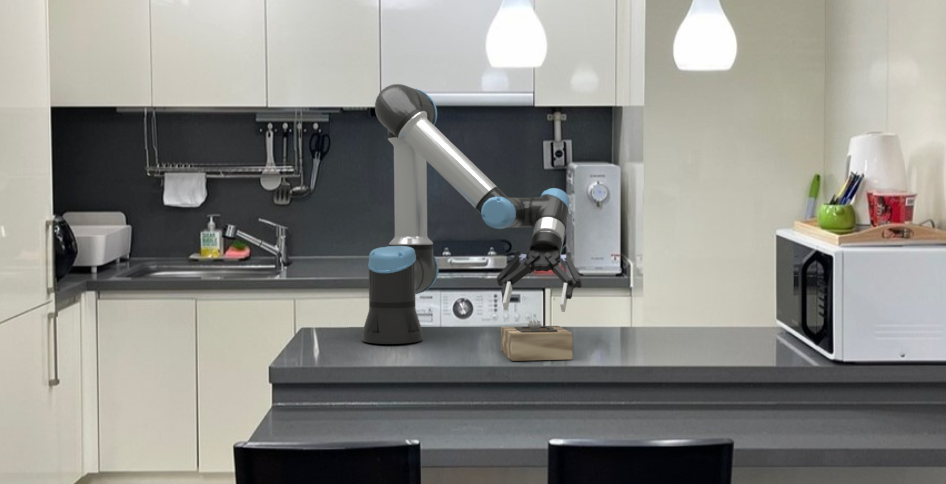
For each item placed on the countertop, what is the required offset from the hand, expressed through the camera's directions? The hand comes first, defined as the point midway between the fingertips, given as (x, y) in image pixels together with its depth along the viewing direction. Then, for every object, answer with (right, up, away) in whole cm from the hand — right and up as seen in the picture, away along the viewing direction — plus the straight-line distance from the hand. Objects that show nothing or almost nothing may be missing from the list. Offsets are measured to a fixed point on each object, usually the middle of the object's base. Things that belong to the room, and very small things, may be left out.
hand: (533, 307), depth 222 cm
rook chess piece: (0, -11, +3) cm, 12 cm away
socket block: (+1, -11, +3) cm, 12 cm away
